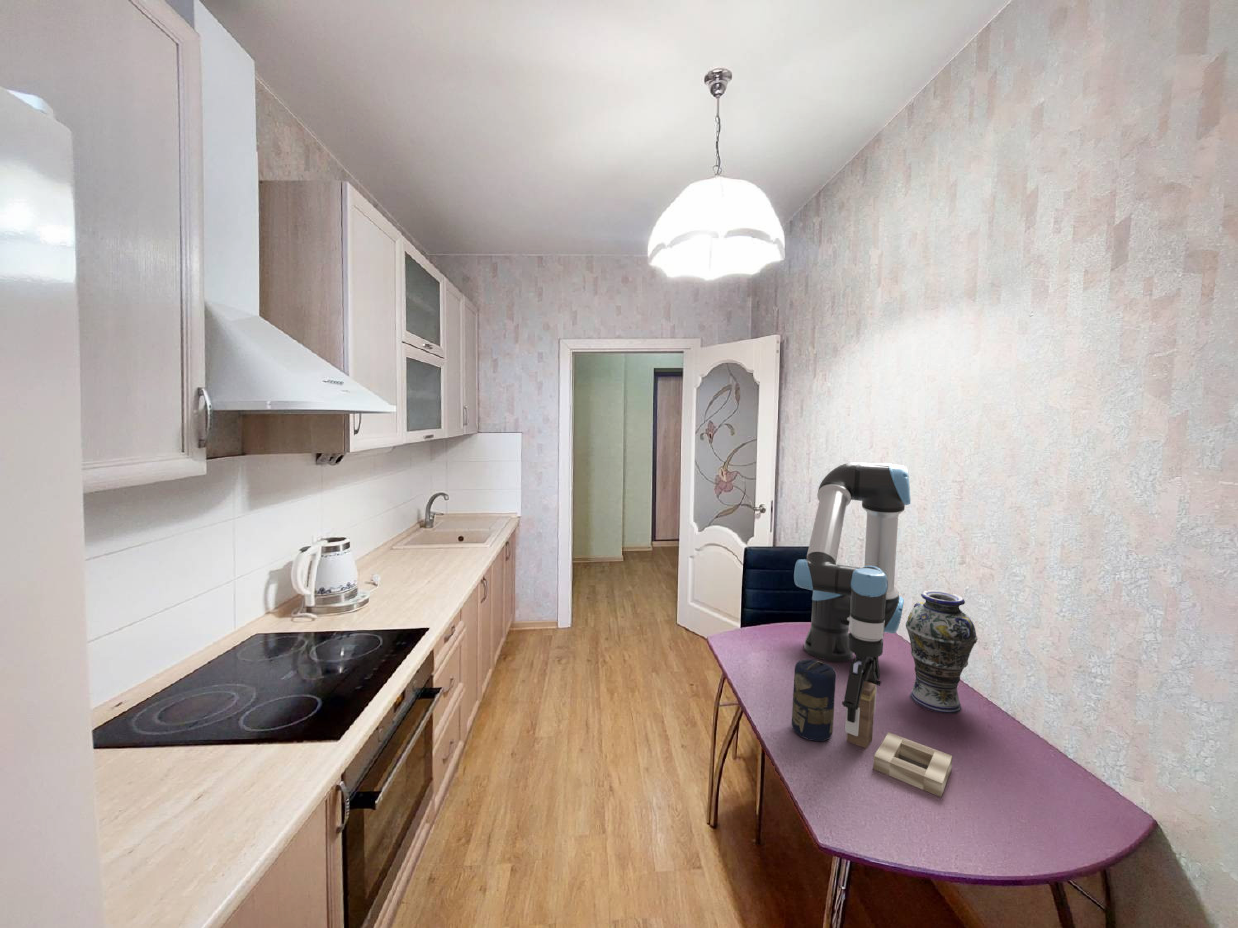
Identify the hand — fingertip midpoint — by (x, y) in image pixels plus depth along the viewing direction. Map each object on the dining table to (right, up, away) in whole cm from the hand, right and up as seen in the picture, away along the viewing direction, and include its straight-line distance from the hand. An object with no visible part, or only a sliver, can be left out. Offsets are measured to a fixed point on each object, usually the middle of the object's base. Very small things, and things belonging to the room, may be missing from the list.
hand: (860, 721), depth 126 cm
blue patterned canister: (-11, -5, +3) cm, 12 cm away
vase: (+29, -4, +19) cm, 35 cm away
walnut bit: (0, -5, 0) cm, 5 cm away
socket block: (+7, -6, -10) cm, 13 cm away
